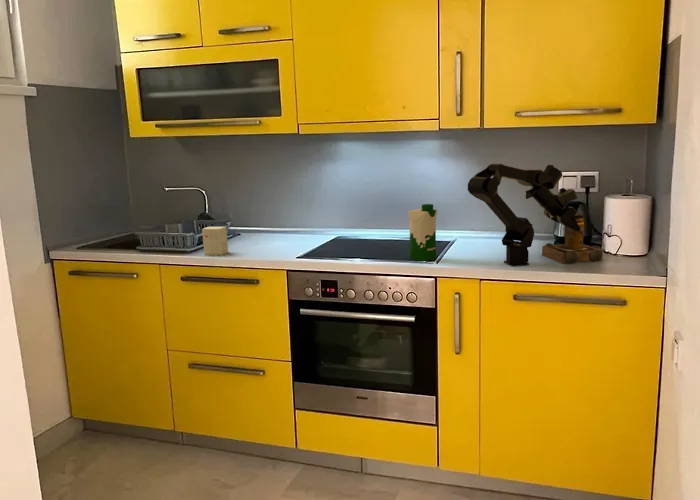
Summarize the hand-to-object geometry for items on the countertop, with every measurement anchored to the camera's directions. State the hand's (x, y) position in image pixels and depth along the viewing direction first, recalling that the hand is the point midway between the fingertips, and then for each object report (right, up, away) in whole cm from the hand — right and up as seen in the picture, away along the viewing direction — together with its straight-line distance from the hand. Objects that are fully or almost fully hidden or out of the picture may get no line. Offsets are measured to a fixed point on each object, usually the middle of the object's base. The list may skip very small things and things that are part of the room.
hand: (576, 229), depth 217 cm
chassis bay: (-1, -10, +2) cm, 10 cm away
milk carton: (-53, -11, +7) cm, 54 cm away
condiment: (-1, -7, +1) cm, 7 cm away
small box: (-132, -9, +31) cm, 136 cm away
